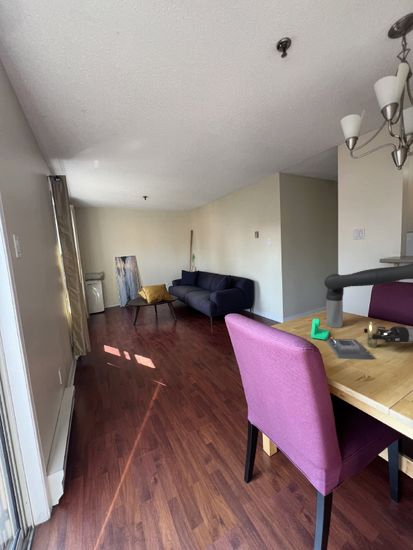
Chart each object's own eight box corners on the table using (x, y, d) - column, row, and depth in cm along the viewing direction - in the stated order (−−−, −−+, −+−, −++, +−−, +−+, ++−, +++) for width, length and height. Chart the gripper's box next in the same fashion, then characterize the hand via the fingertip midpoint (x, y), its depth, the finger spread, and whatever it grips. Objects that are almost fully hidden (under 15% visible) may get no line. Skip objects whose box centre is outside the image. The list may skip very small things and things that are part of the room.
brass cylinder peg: (365, 344, 119) (366, 320, 118) (374, 344, 118) (375, 320, 117) (369, 348, 115) (369, 323, 114) (378, 348, 114) (379, 323, 113)
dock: (326, 342, 125) (326, 334, 124) (355, 342, 122) (355, 334, 121) (338, 358, 107) (338, 349, 107) (372, 359, 104) (372, 349, 104)
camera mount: (326, 341, 126) (326, 323, 125) (311, 339, 131) (310, 321, 130) (329, 334, 136) (329, 317, 135) (315, 332, 140) (315, 315, 139)
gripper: (396, 322, 119) (361, 322, 123) (415, 332, 105) (375, 331, 109) (396, 335, 120) (361, 335, 124) (414, 347, 106) (375, 347, 110)
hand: (368, 333), depth 116 cm, fingers open, 8 cm apart
